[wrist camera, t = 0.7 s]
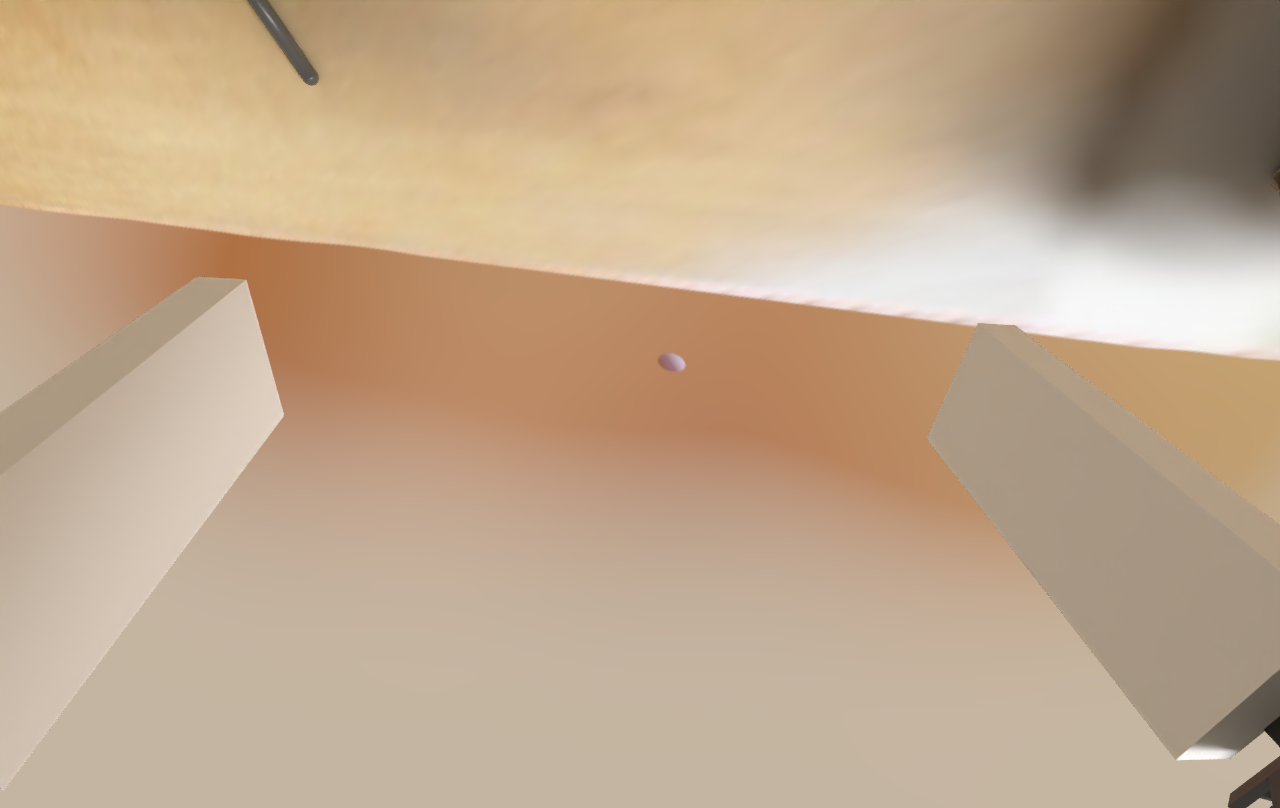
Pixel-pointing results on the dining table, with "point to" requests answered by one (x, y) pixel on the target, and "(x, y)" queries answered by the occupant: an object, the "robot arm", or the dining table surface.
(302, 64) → the warming pad
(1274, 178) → the hut
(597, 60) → the dining table surface
